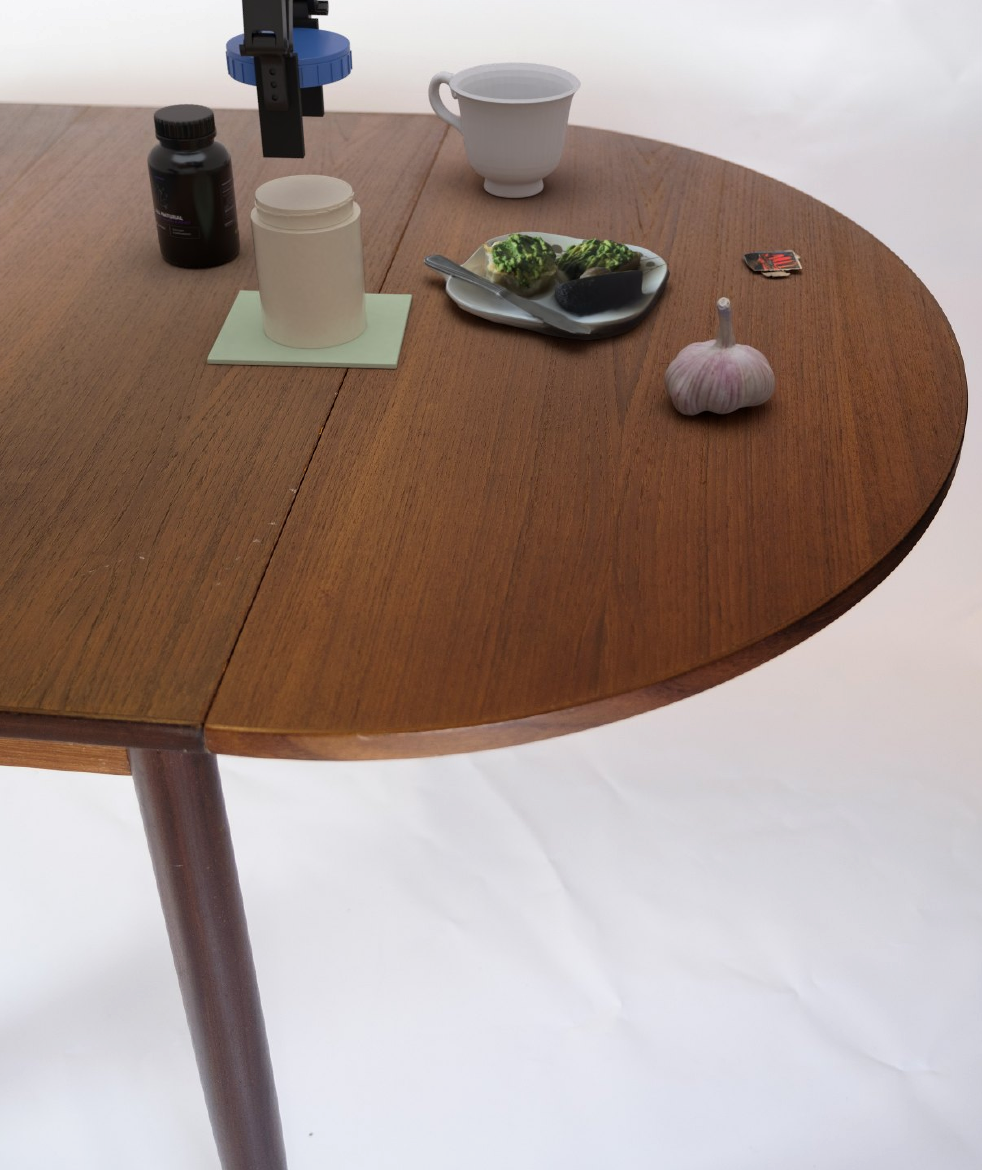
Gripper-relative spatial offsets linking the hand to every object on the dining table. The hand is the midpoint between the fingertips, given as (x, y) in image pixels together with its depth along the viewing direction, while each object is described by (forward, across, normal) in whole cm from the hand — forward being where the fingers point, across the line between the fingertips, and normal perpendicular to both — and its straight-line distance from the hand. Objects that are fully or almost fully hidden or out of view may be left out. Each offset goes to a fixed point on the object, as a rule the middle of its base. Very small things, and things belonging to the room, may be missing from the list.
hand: (295, 134), depth 89 cm
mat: (+15, -1, 0) cm, 15 cm away
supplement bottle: (+15, -15, -12) cm, 25 cm away
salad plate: (+15, -8, +19) cm, 26 cm away
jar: (+15, -1, 0) cm, 15 cm away
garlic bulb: (+15, +9, +30) cm, 35 cm away
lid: (-6, 0, 0) cm, 6 cm away
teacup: (+15, -33, +13) cm, 39 cm away
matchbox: (+15, -15, +37) cm, 43 cm away
